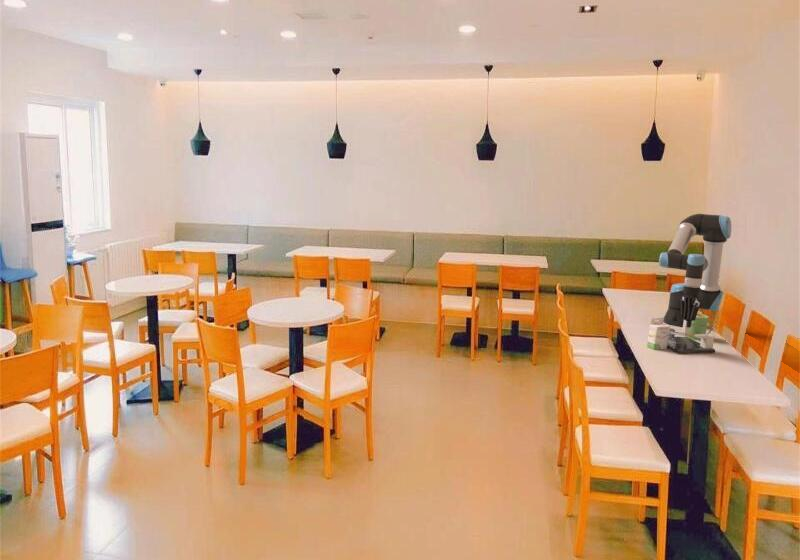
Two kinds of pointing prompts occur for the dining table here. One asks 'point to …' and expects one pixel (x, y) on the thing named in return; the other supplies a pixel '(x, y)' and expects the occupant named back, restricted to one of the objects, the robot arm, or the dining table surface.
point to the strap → (681, 334)
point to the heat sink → (677, 341)
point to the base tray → (682, 351)
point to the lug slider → (706, 340)
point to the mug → (699, 326)
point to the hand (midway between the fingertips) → (685, 333)
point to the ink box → (658, 334)
